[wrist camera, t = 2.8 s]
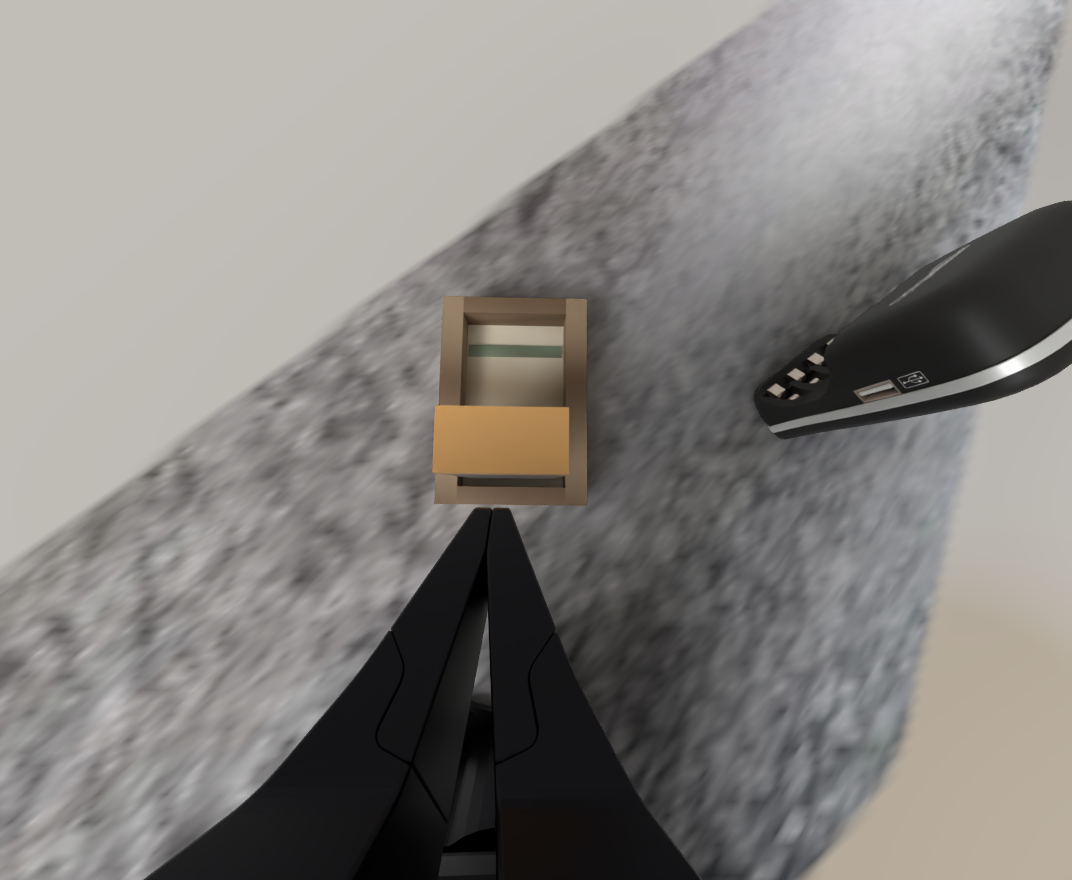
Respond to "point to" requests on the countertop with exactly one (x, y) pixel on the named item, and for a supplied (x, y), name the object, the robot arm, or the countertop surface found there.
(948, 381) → the battery charger
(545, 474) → the fader lever
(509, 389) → the tray
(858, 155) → the countertop surface
